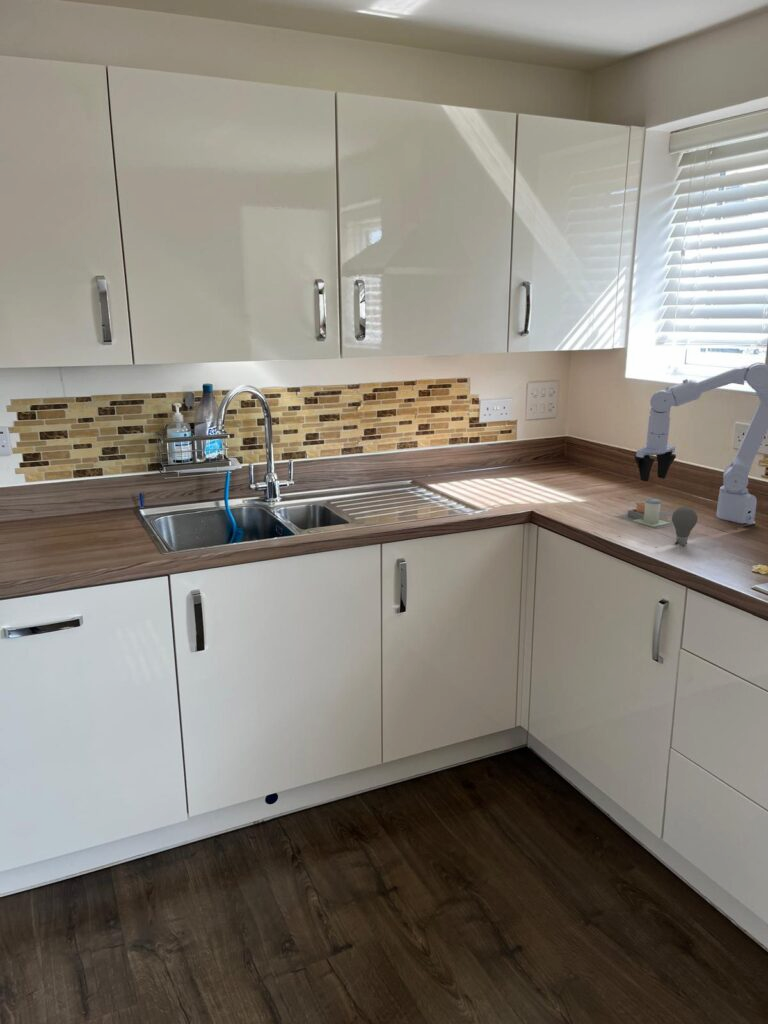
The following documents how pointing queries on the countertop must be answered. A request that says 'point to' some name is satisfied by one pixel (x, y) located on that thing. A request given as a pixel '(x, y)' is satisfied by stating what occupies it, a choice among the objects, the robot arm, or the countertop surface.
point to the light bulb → (684, 523)
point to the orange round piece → (640, 508)
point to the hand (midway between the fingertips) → (652, 479)
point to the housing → (639, 518)
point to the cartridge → (652, 510)
